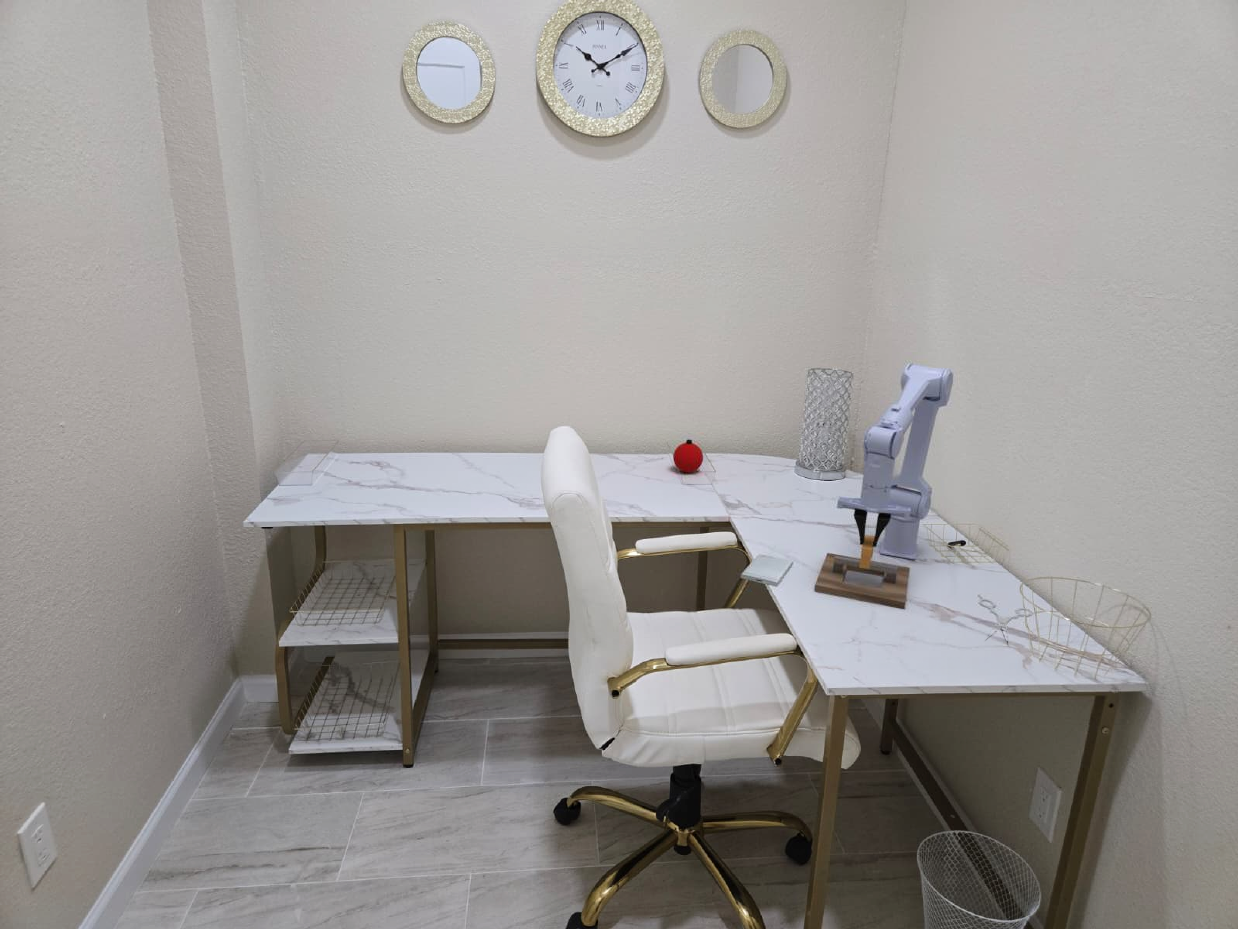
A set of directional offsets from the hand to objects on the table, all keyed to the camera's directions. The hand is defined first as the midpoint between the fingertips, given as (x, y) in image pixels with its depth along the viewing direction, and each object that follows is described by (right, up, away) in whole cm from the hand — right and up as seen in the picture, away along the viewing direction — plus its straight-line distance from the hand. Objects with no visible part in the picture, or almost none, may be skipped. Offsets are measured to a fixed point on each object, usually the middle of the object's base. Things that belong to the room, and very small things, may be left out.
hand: (868, 544), depth 169 cm
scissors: (+22, -15, -12) cm, 29 cm away
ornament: (-32, +15, +71) cm, 80 cm away
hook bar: (0, -7, +2) cm, 7 cm away
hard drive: (-20, -7, +7) cm, 23 cm away
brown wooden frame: (0, -8, +3) cm, 9 cm away
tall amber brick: (0, -4, +2) cm, 4 cm away
